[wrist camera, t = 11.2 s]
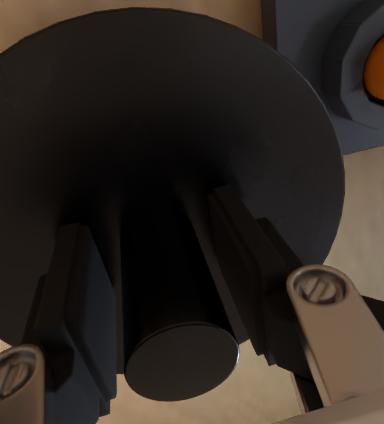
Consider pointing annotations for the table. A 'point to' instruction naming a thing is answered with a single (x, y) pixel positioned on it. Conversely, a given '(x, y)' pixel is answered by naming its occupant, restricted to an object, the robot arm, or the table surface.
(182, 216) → the lid
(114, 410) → the table surface
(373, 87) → the button
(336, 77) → the control block
